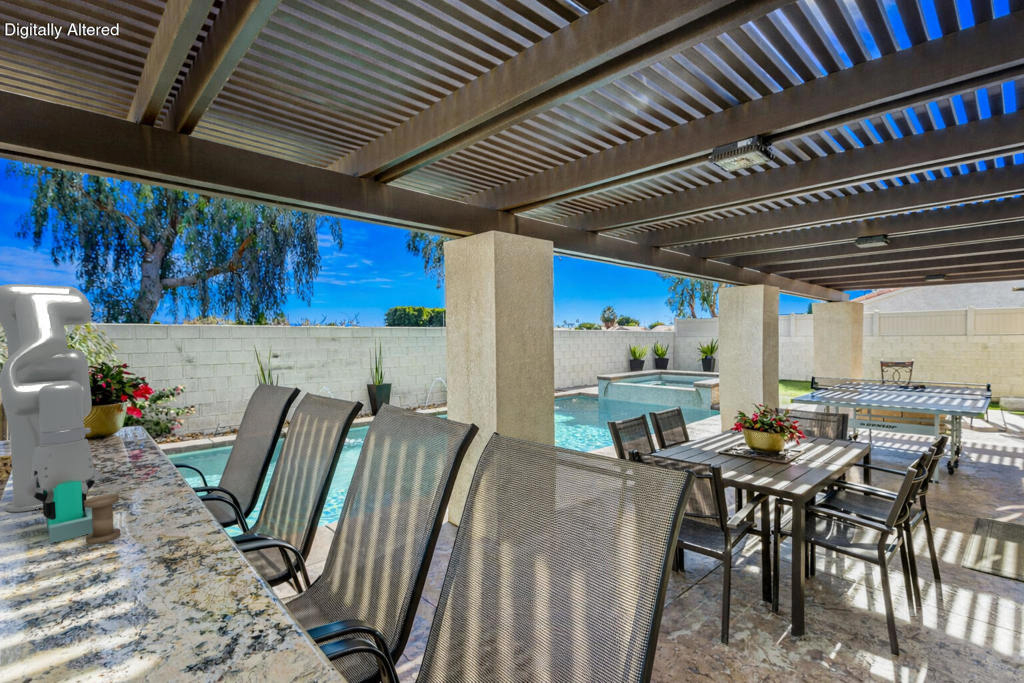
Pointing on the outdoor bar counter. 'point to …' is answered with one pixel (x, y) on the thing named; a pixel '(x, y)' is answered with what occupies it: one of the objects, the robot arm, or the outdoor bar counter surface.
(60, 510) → the candle
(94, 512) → the bobbin
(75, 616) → the outdoor bar counter surface
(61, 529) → the notch board
